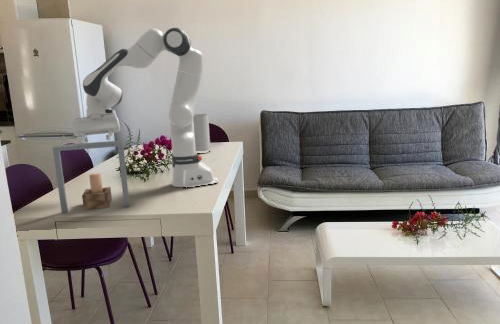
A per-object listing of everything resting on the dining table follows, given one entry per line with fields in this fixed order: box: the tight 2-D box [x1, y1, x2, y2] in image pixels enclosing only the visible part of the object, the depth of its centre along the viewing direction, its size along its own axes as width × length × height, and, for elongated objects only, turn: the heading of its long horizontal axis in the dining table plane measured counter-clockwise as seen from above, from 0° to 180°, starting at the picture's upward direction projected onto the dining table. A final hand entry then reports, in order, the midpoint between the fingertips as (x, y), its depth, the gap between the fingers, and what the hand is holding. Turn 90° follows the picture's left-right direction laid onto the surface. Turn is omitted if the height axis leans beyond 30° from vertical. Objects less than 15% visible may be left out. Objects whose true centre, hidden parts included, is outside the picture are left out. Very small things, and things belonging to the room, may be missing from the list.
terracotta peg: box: [88, 172, 103, 194], centre depth 180 cm, size 4×4×12 cm
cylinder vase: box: [193, 113, 211, 151], centre depth 288 cm, size 12×12×25 cm
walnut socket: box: [81, 186, 113, 211], centre depth 180 cm, size 10×10×6 cm
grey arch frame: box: [52, 140, 131, 214], centre depth 174 cm, size 26×6×26 cm, turn 102°
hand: (97, 140), depth 191 cm, fingers open, 8 cm apart
